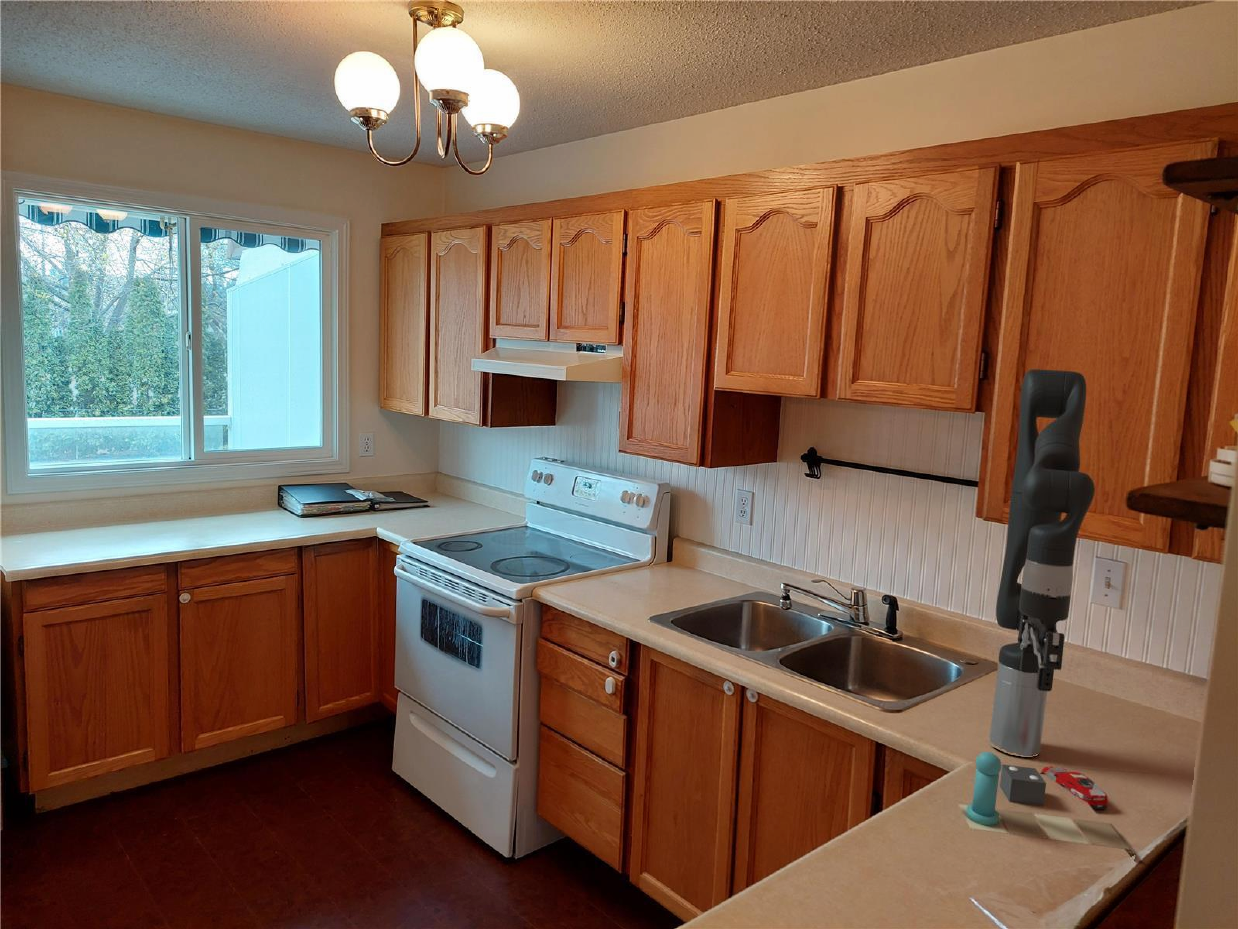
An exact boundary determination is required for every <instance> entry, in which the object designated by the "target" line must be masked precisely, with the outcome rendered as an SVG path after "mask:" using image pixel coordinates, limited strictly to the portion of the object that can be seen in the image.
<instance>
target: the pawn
mask: <svg viewBox="0 0 1238 929" xmlns="http://www.w3.org/2000/svg"><path fill="white" fill-rule="evenodd" d="M975 767H976V769H975V775H974V776H975V778H974V785H973V788H974V789H973V793H972V794H973V795H972V803H971V804H967V805H968V806H967V814H966V815H967V817H968V818H969V819H970V820H971V821H973V822H975V823H977V824H980V825H984V826H995V825H997V824H998V821H999V819H1000V815H999V813H998V812H997V810H996V805H997V804H996V802H997V793H998V785H999V779H1000V772H1001V771H1002V761H1001V759H1000V758H999V756H997V755H996V754H994V753H992V752H990V751H985V752H981V753H980V754H978V755H977V757H976V760H975Z"/></svg>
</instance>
